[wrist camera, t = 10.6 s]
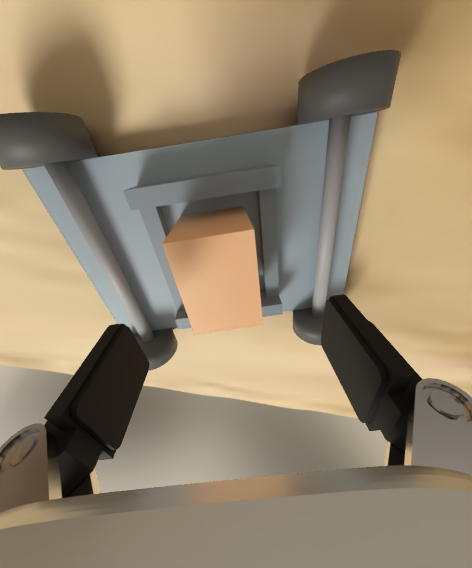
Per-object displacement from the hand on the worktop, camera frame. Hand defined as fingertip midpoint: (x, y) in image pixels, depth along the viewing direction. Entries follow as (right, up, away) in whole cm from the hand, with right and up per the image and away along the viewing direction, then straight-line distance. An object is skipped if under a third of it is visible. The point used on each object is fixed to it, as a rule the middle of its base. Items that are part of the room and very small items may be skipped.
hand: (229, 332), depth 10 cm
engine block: (-1, +5, +8) cm, 10 cm away
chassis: (-1, +6, +9) cm, 11 cm away
